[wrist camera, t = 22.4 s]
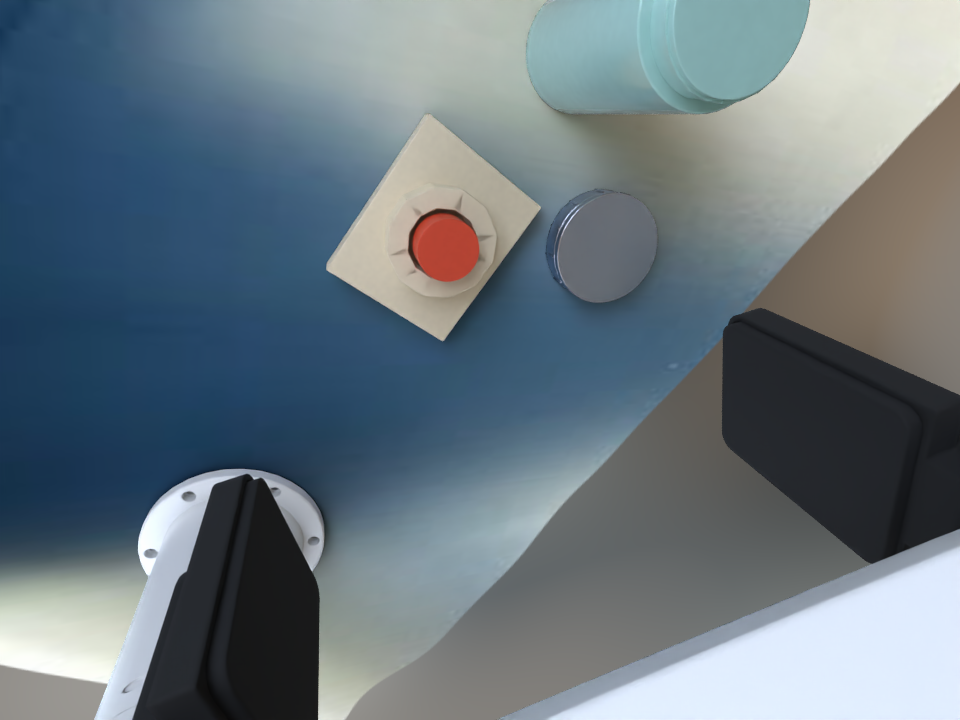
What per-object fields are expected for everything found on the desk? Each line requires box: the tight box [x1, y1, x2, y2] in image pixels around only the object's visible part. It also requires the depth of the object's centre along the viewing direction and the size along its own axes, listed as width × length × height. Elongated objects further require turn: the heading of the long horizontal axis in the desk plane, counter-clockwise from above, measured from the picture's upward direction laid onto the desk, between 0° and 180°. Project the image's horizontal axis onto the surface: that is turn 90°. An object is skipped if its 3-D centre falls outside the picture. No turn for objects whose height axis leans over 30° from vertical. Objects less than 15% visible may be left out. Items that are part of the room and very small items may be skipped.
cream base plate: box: [327, 114, 541, 341], centre depth 33 cm, size 11×9×4 cm
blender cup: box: [526, 0, 810, 114], centre depth 26 cm, size 7×7×15 cm
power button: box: [412, 213, 479, 282], centre depth 31 cm, size 4×4×2 cm
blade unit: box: [546, 189, 658, 303], centre depth 37 cm, size 8×8×2 cm
